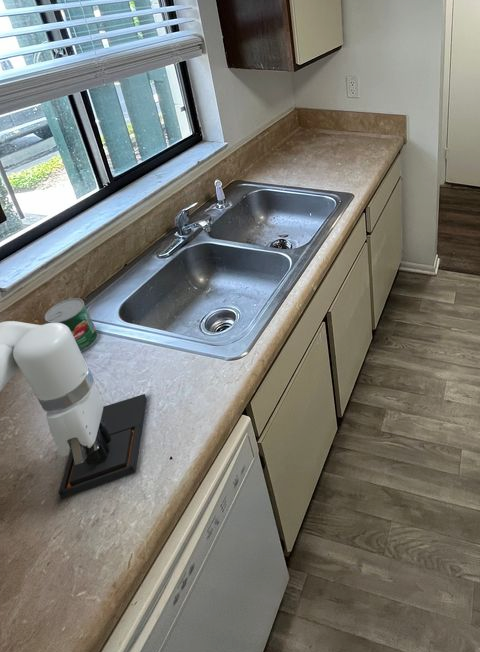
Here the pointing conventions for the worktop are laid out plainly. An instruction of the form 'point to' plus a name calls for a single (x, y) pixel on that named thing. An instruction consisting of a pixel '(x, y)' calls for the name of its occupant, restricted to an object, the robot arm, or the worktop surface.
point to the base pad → (116, 421)
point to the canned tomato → (74, 321)
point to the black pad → (115, 459)
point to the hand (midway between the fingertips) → (99, 451)
